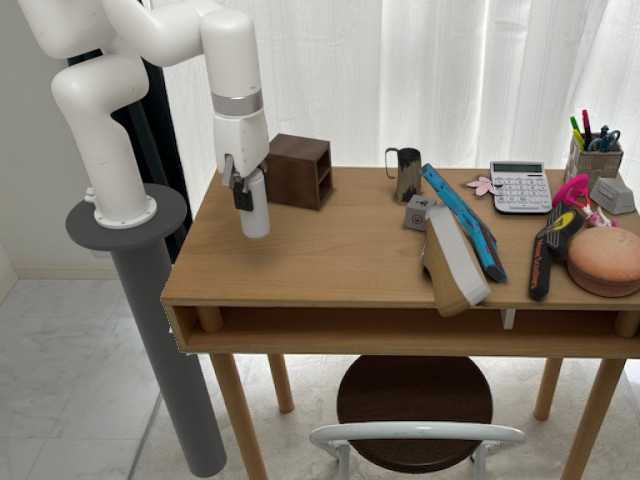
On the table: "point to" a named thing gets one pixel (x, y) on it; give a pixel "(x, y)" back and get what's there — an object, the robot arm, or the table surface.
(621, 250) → the round sponge cake
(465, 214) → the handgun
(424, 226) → the dice cube
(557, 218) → the decorative sign
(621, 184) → the mineral specimen
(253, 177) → the beverage can
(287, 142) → the divided wooden organizer
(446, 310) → the sneaker
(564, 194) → the figurine
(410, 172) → the mug
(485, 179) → the flower
